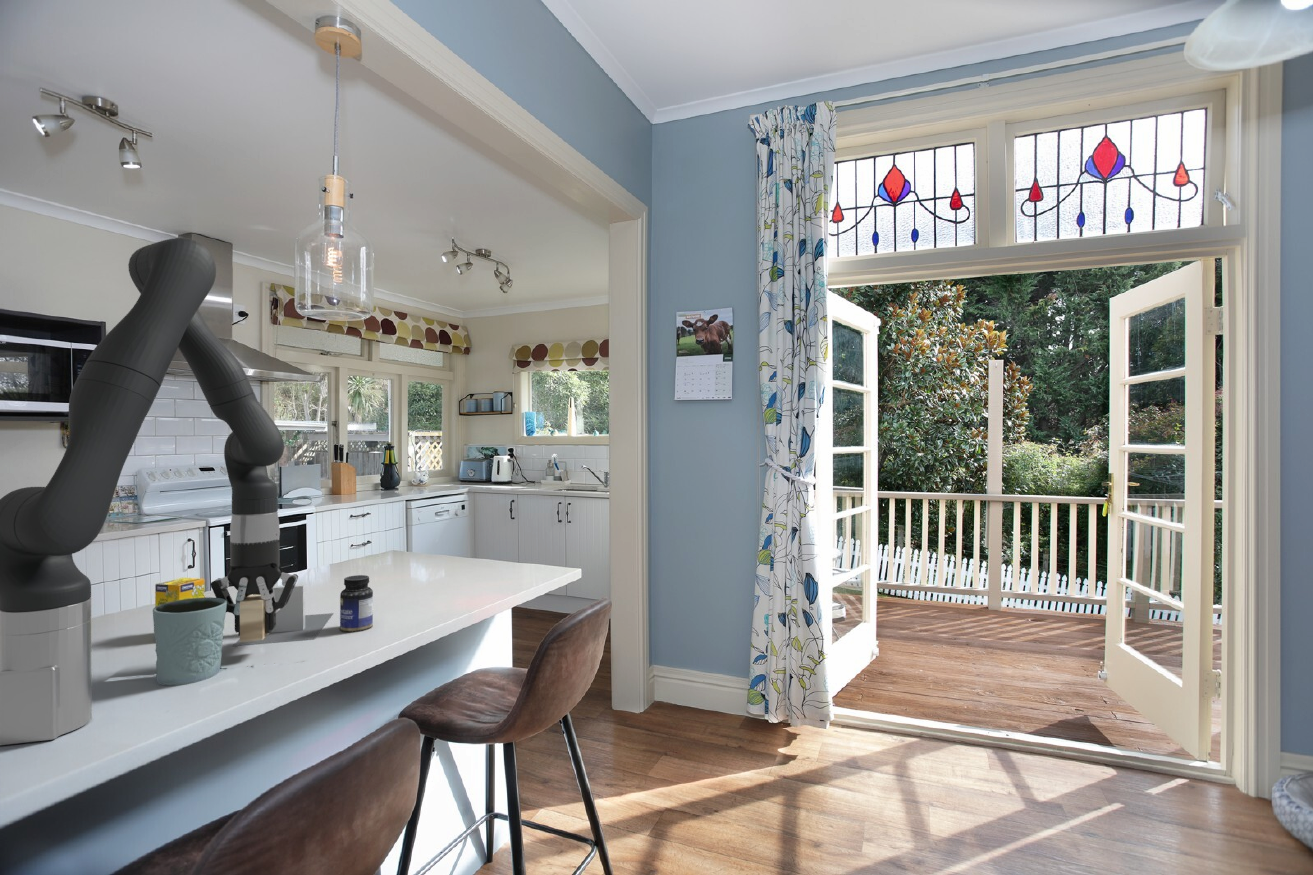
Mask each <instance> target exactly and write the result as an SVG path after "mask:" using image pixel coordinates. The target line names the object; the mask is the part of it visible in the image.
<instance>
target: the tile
mask: <svg viewBox="0 0 1313 875" xmlns="http://www.w3.org/2000/svg"><path fill="white" fill-rule="evenodd" d="M284 587H285V586H283V585H282V584H281V585H274V586H273V588H274V592H275V600H276V602H277V601H279V599H280V596H281V594H282V591H283V589H284ZM252 595H257V594H252ZM305 615H306V584H305V583H302V584H301V583H299V584H295V586H294V589H293V591H292V594H291V596H290V598H289V601H288V603H287V604H286V605H285V606H284V607H283V608H281V609H280V610H279V611H278V612H277V613H276V626H275V628H274V629H273V630H272V631H271V632H270V633H274V632H287V631H299V630H304V629H305Z"/></svg>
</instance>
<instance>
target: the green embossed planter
mask: <svg viewBox="0 0 1313 875" xmlns="http://www.w3.org/2000/svg"><path fill="white" fill-rule="evenodd" d="M226 606H227V601H226V600H225V599H221V598H216V597H211V596H209V597H208V596H207V597H204V598H191V599H184V600H177V601H172V602H168V603H164V604H161V605H158V606H156V607H154V608H152V616H153V617H152V620H153V635H154V641H155V649H154V650H155V653H156V661H155V668H156V681H157V684H159V685H163V686H182V685H188V684H194V683H198V682H201V681H204V680H207V679H210V678H213V677H214V676H216V675H218V674H219V673H220V670H221V665H222V657H223V656H222V655H223V653H222V648H223V639H224V633H223V631H224V629H225V620H226V615H227V614H226V613H227V612H226Z"/></svg>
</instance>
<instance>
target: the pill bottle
mask: <svg viewBox="0 0 1313 875" xmlns="http://www.w3.org/2000/svg"><path fill="white" fill-rule="evenodd" d="M369 583H370V576H368V575H365V574H361V575H360V574H357V575H350V576H347V577H344V578H343V585H344V586H345V587H344V589H343V590H342V591H341V592H340V594H339V604H340V605H339V631H340V632H341V633H346V634H348V633H349V634H351V633H359V632H365V631H368V630H370V629H372V628H374V625H373V624H374V620H373V618H374V616H373V615H374V614H373V613H374V612H373V611H374V610H373V608H374V607H373V606H374V604H373V603H374V600H373V598H374V590H373V588H371V587H369Z"/></svg>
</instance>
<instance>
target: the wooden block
mask: <svg viewBox="0 0 1313 875" xmlns="http://www.w3.org/2000/svg"><path fill="white" fill-rule="evenodd" d="M279 610H280V609H277V610H276V613H277V612H278V611H279ZM265 613H266V610H265V606H264V600H262V598H261V595H253V594H252V595H250V596H249V597H248V598H247V599H245V600H244V601H241V602H240V636H239V639H240V642H245V641H257V640H263V639H264V638H265V637H266V636H267V635H268V634H269V633H267V634H265Z"/></svg>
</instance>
